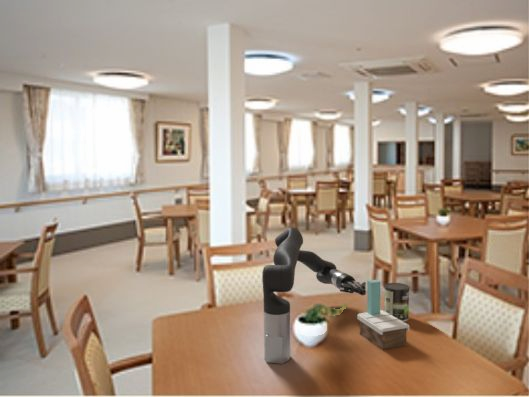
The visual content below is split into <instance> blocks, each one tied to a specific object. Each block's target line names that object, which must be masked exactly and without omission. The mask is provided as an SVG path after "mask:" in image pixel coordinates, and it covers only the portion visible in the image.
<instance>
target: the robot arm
mask: <svg viewBox="0 0 529 397" xmlns="http://www.w3.org/2000/svg"><path fill="white" fill-rule="evenodd" d="M274 241H275V242H274V243H275V245H276V247H277V248H276V249H275V251H274V255H273V264H267V265H265V266H263V270H262V274H261V275H262V278H261V279H262V290H263V292H262V293H263V339H264V340H263V343H264V344H263V347H264V351H263V352H264V355H263V356H264V360H265V362H266V363H270V364H271V363H272V364H278V365H279V364H280V365H284V363H286V362H288V361H290V360H291V303H290V301H289V300H287V299H285V298H283V297H281V296H278V295H277V294H276V293H288V292H291V291H292V290H293V287H294V283H295V273H296V272H295V271H296V267H297V263H298V262H300V263H302V264H303V265H305V267H307V268H308V269H309V270H311V271H312V272H314V273H316V274H315V276H316V280H317V281H318V282H320V283H322V284H323V285H324V284H325V285H333V286H334V287H335V288H337V289H338V290H339V291H340V292H342V293H348V294H354V293H355V294H358V295H360V296H365V295H367V290H366V289H367V281H363V282H361V283H360V282H359V281H356V279H355V277H353V276H352V275H350V274H349V273H346V272H345V271H341V270H339V269H337V266H336V265H335V263H333V262H332V261H328V260H325V259H323V258H321V257H320V256H319V255H318V254H316V253H315V252H312V251H310V250H301V247H302V246H303V244H304V237H303V235H302V233H301V231H300V230H299V229H298V228H296V227H289V228H287V229H285V230H284V231H283V232H282V233H280V234H279V235H277V236H276V237H275V239H274Z"/></svg>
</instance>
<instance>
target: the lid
mask: <svg viewBox="0 0 529 397" xmlns="http://www.w3.org/2000/svg"><path fill="white" fill-rule="evenodd" d="M366 289H367V290H366V304H367V305H366V311H365V312H360V313H358V314H357V318H356V319H357V320H359V322H360V321H361V322H363V323H364V324H366V325H367V326H369V327H370V328H372V329H373V330H375V331H376V332H378V333H379V334H381V335H383V332H386V331H392V330H398V329H404V328H407V331H410V325H409V324H408V323H406V322H403V321H401V320H399V319H397V318H396V317H394V316H392V315H391V314H389V313H387V312H385V311H384V310H383V309H381V281H380V280H378V279H369V280H367V281H366Z"/></svg>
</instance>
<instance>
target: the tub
mask: <svg viewBox="0 0 529 397" xmlns="http://www.w3.org/2000/svg"><path fill="white" fill-rule="evenodd" d="M407 332H408V330H407V328H404V329H398V330H392V331H386V332H383V335H381V334H379V333H378V332H376V331H375V330H373V329H372V328H370V327H369V326H367V325H366V324H364V323H363V322H361V321H360V320H359V335H360V336H362V337H363V338H365V339H366V340H368V342H370V343H371V344H373V345H374V346H376V347H377V348H379V349H380V350H382V351H388V350H389V351H390V350H394V349H399V348H404V347H405V348H406V347H407V334H408V333H407Z"/></svg>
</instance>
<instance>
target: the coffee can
mask: <svg viewBox="0 0 529 397" xmlns="http://www.w3.org/2000/svg"><path fill="white" fill-rule="evenodd" d="M409 301H410V286H409V285H408V284H405V283H400V282H388V283H385V284H384V310H383V311H385V312H387V313H389V314H391V315H392V316H394V317H396V318H397V319H399V320H401V321H403V322H404V323H406V322H407V321H409V318H410V316H409V315H410V314H409V311H410V310H409V307H410V306H409V305H410V304H409V303H410V302H409Z"/></svg>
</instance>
